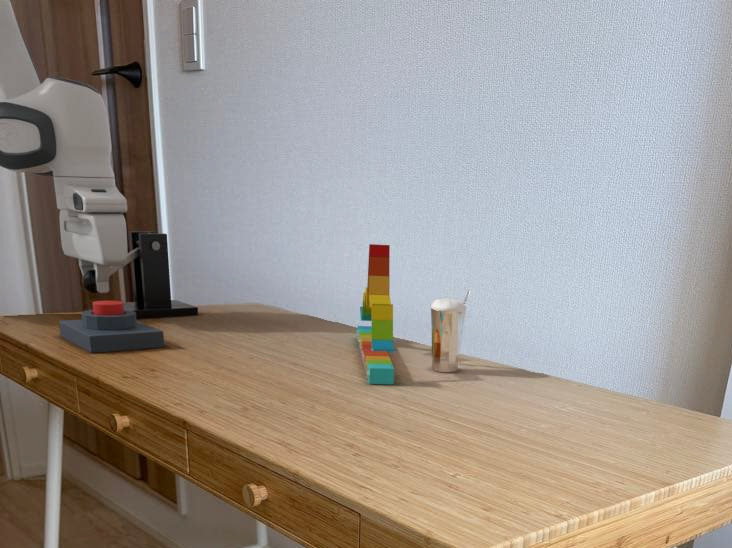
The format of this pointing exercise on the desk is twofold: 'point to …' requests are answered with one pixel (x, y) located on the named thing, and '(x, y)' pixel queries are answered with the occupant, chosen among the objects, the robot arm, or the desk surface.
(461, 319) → the milkshake
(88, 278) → the tap lever
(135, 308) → the black lever stand
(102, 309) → the button
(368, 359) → the chart
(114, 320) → the button block
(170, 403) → the desk surface
